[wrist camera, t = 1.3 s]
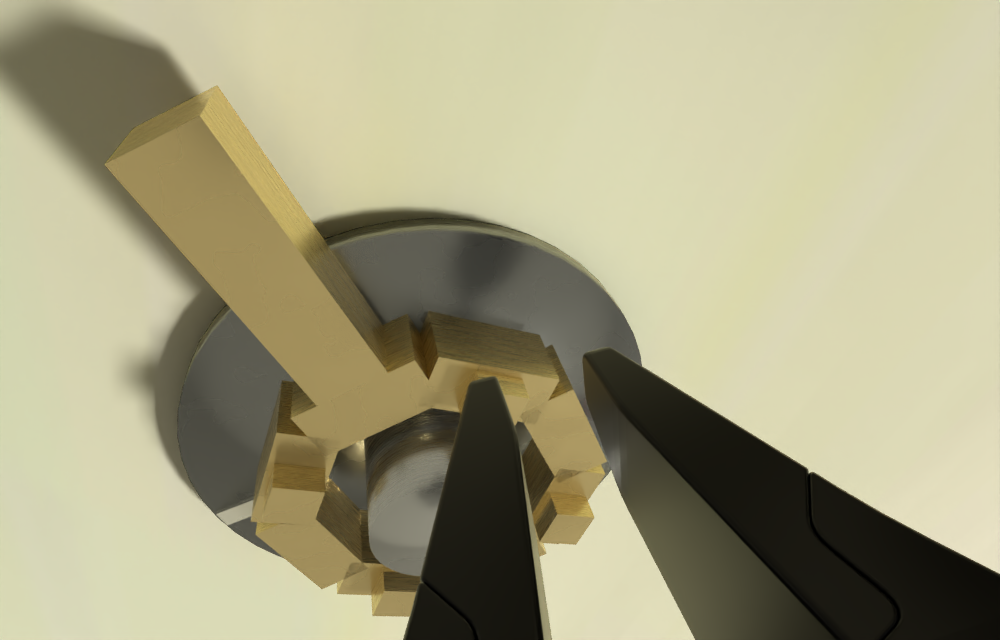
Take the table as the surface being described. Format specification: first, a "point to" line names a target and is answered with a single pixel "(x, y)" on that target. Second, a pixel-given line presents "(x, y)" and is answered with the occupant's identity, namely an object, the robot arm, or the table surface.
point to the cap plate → (414, 291)
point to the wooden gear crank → (341, 352)
